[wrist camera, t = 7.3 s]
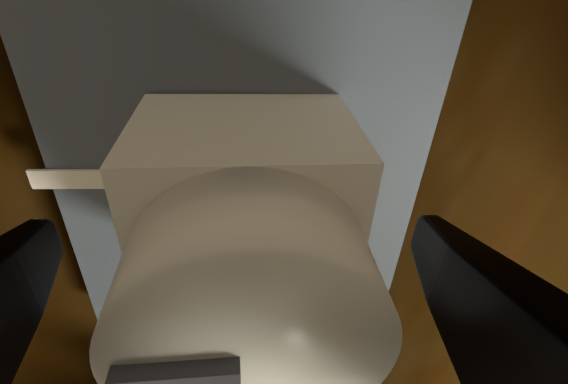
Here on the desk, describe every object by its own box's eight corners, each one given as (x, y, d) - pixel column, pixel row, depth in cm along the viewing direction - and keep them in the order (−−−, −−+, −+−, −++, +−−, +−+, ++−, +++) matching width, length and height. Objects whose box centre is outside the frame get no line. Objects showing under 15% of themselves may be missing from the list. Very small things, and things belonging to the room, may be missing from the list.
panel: (468, -76, 9) (629, -88, 5) (373, 292, 16) (413, 402, 12) (-39, -109, 8) (-301, -154, 4) (96, 300, 15) (44, 423, 11)
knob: (338, 94, 10) (446, 258, 5) (321, 238, 13) (379, 442, 8) (145, 93, 10) (33, 277, 4) (170, 244, 12) (120, 467, 7)
